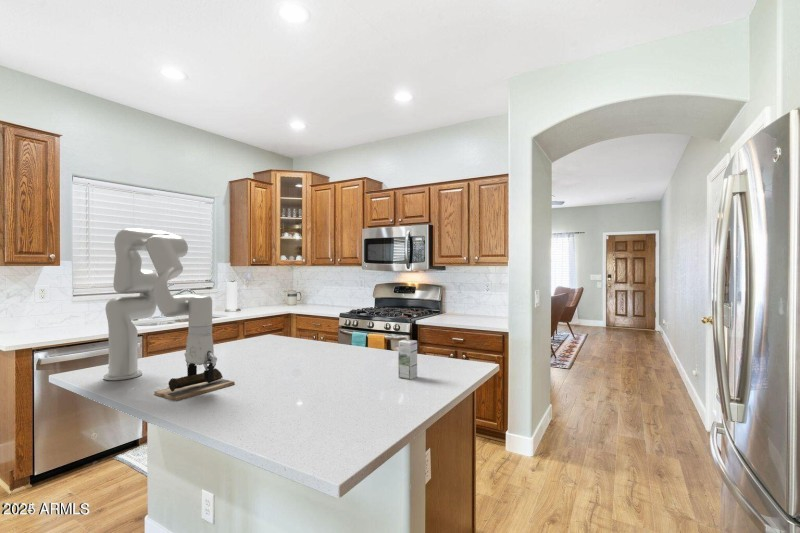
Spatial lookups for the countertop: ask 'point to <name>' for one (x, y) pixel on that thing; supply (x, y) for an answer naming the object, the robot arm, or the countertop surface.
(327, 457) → the countertop surface
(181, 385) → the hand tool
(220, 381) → the plywood panel
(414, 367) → the syrup box
